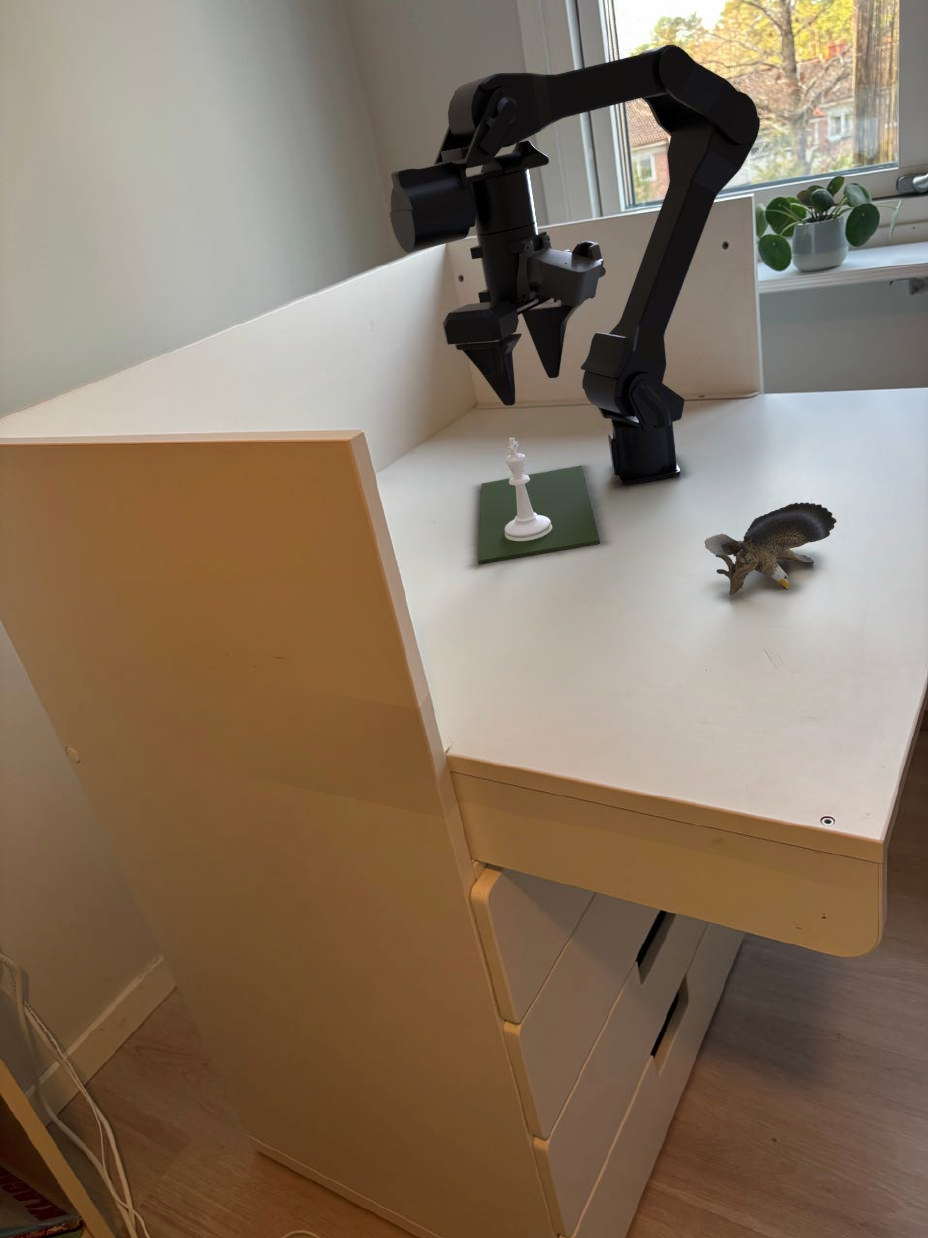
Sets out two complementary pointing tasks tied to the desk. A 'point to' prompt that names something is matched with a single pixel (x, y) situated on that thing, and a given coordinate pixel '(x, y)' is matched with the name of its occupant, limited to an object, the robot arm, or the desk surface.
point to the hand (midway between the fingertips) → (532, 390)
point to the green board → (549, 497)
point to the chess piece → (523, 502)
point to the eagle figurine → (771, 542)
